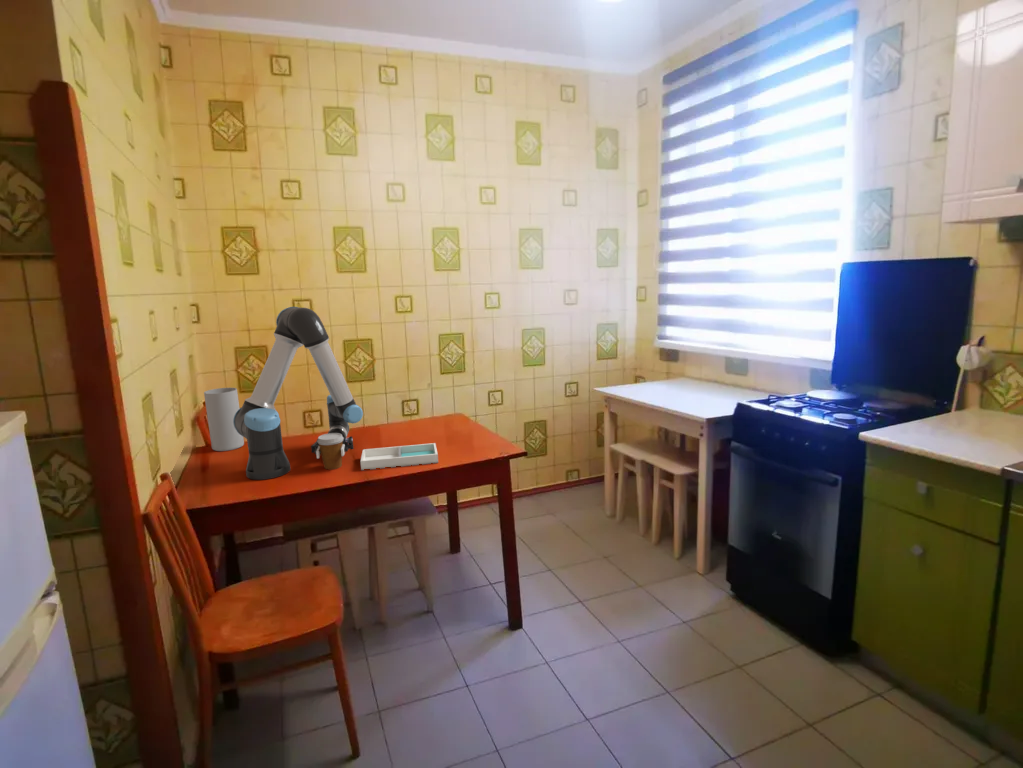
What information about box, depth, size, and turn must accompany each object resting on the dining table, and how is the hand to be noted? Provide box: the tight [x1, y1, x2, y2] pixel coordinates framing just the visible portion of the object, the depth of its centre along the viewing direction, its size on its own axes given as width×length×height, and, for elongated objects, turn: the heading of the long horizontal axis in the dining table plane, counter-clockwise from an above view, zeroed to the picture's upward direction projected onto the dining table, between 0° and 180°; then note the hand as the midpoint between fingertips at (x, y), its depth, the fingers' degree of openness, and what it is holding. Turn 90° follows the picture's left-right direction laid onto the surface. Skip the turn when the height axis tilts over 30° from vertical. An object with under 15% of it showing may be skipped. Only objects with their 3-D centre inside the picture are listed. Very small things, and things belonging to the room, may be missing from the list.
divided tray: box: [359, 442, 439, 471], centre depth 216 cm, size 28×15×4 cm, turn 101°
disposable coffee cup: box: [316, 433, 344, 470], centre depth 210 cm, size 10×10×12 cm
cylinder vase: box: [203, 387, 245, 452], centre depth 239 cm, size 12×12×25 cm
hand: (330, 453), depth 206 cm, fingers closed on disposable coffee cup, 8 cm apart
